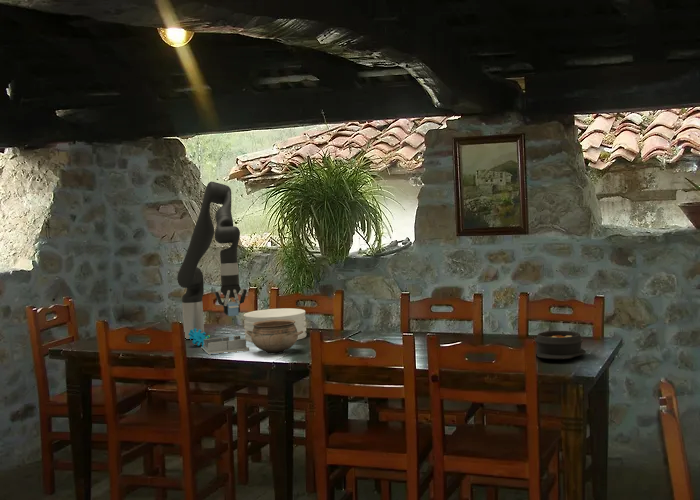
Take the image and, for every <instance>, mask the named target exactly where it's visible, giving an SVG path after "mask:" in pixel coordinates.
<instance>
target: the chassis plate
mask: <svg viewBox="0 0 700 500" xmlns="http://www.w3.org/2000/svg"><path fill="white" fill-rule="evenodd" d="M200 348H203V349H204V350H205V351H206V352H207V353H208V354H211V353H224V352H235V353H238V352H237V351H243V352H250V347H248V346H247V341H246V339H245V338H241V335H233V339H230V337H229V336H222V337H213V338H209V339H204V346H201V347H200ZM208 354H207V355H208Z"/></svg>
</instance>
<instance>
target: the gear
mask: <svg viewBox="0 0 700 500" xmlns="http://www.w3.org/2000/svg"><path fill="white" fill-rule="evenodd" d="M196 330H197V329H195V328H194V332H193V330H190V332H189V334H188V335H189V336H190V337H189V339H190V340H191V339H193V340H191V343H192V344H196V346H198V347H200V346H201V345H202V346H203V345H204V339H211V338H210V337H211V335H210V334H208V335H206V334H207V333H206V332H205V331H204V332H203V333H200V332H201V331H202V330H200V329H199V330H198V332H196ZM192 334H193V335H192ZM190 340H189V341H190ZM202 346H201V347H202Z"/></svg>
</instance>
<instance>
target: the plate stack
mask: <svg viewBox="0 0 700 500" xmlns="http://www.w3.org/2000/svg"><path fill="white" fill-rule="evenodd" d="M243 319H244V320H243V324H244V326H243V327H244V339H246V342H249V343H253V342H252V338H251V336H249V335H248V334H247V333H246V332H247V331H248V330H249V331H253V328H254V326H253V323H255V322H259V321H266V320H279V319H286V320H294V321H295V323H294V325H295V327H296V329H297V332H300V331H303V333H302V334H300V335H298V338H297V340H301V339H305V338H306V337H307V327H306V326H307V322H306V310H305V309H302V308H286V307H285V308H283V307H282V308H269V309H259V310H253V311H248V312H246V313H243Z"/></svg>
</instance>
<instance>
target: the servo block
mask: <svg viewBox="0 0 700 500" xmlns="http://www.w3.org/2000/svg"><path fill="white" fill-rule="evenodd" d="M227 307H228V315H227V316H228V317H236V316H239V315H240V312H238V307H239V306H238V303H236V302H235V301H228V302H227Z"/></svg>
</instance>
